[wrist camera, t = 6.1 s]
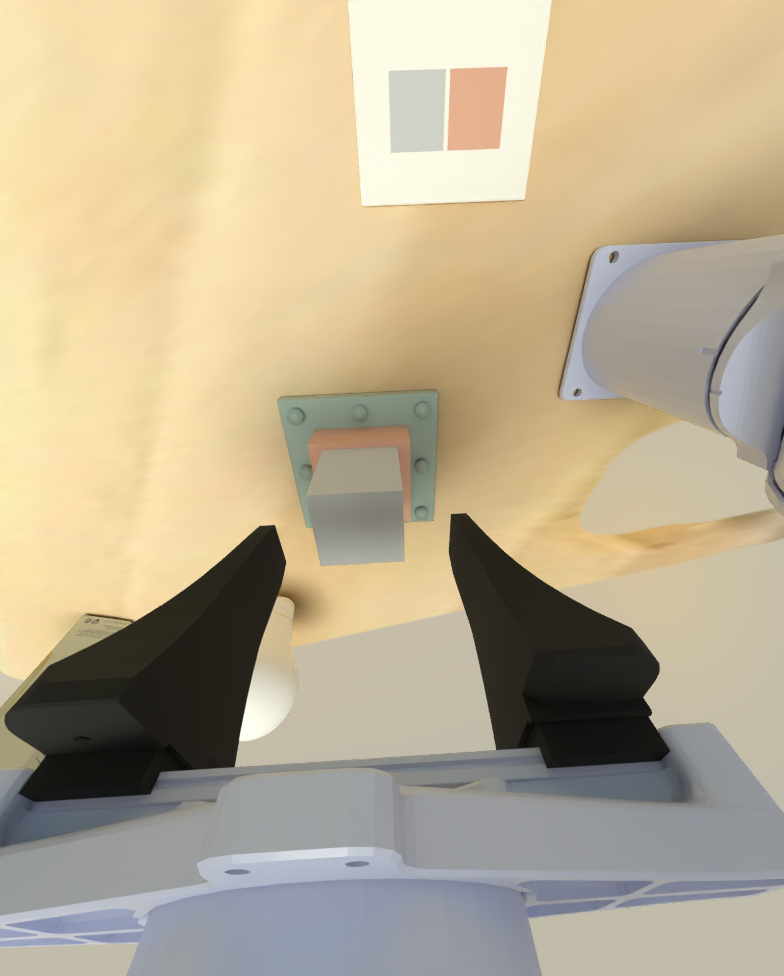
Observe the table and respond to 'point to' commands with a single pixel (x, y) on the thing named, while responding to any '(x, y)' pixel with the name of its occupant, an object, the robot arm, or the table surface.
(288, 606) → the lightbulb
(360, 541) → the grey brick
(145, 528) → the table surface
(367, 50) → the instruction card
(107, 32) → the table surface
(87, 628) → the skincare box
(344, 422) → the build plate
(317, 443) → the base brick
